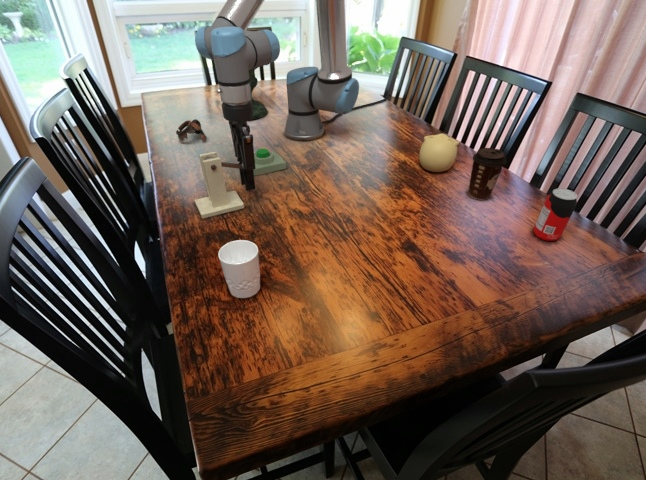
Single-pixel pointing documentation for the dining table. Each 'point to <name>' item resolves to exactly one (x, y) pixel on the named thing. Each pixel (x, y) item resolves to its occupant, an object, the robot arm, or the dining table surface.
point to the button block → (268, 163)
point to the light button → (262, 153)
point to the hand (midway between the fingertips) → (248, 186)
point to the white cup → (241, 267)
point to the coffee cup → (485, 172)
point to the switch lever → (228, 164)
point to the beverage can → (555, 214)
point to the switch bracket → (216, 189)
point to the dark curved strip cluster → (190, 129)
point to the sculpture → (438, 152)
